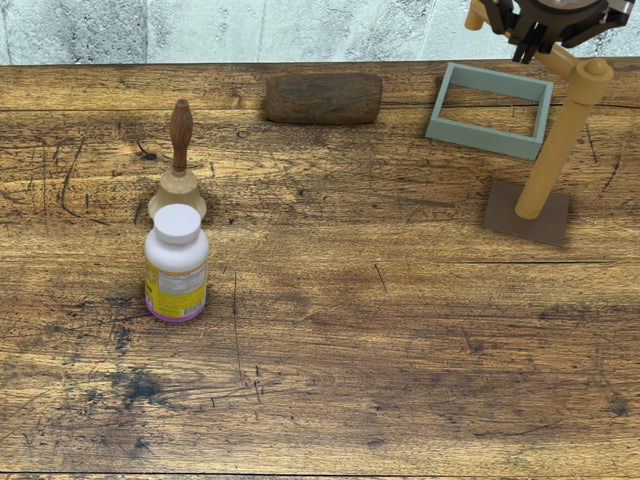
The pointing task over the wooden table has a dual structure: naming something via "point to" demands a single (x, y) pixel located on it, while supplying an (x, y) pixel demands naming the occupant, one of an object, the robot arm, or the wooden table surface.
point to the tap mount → (539, 186)
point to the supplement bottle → (176, 264)
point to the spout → (560, 64)
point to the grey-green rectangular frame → (486, 136)
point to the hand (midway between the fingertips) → (524, 50)
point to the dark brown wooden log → (324, 98)
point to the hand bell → (179, 167)
